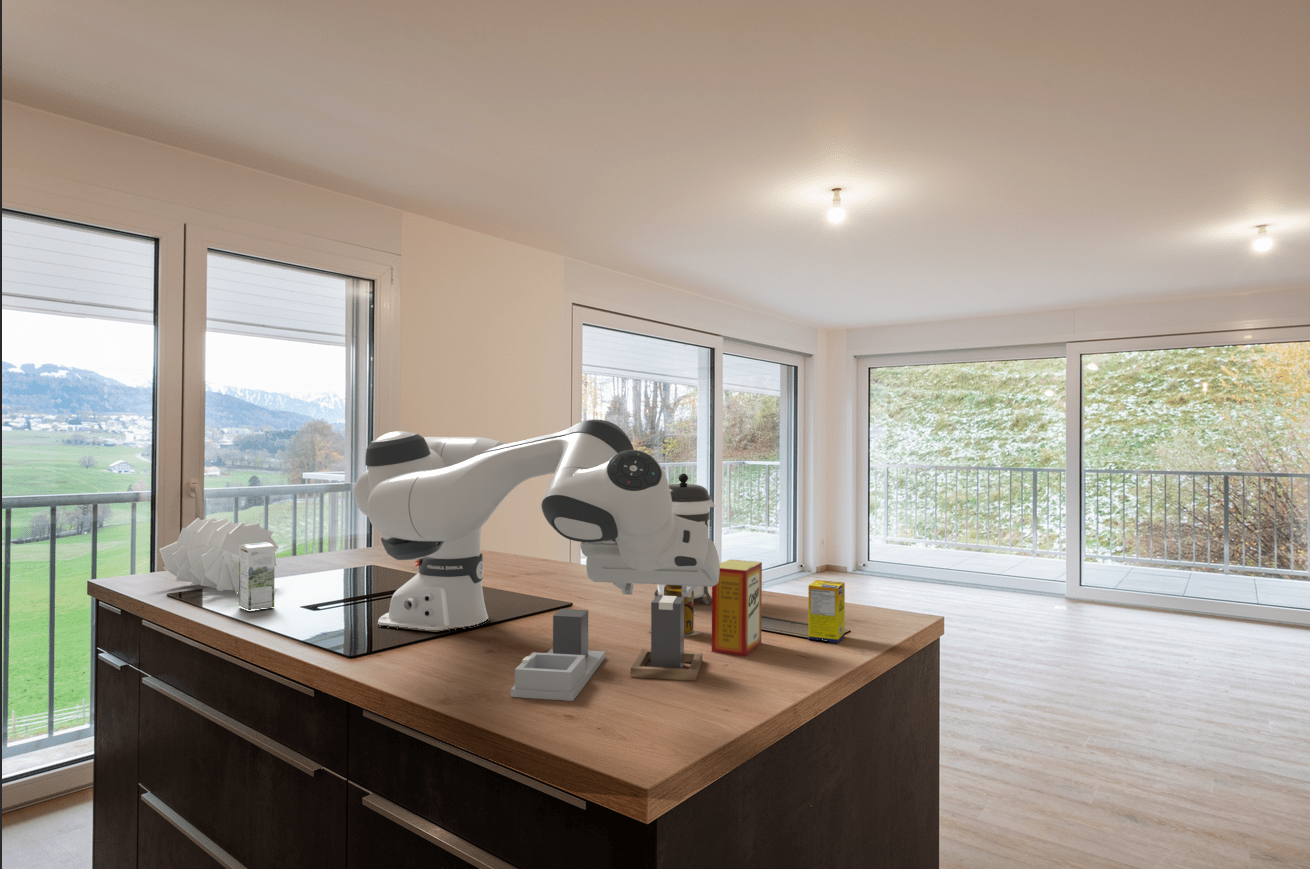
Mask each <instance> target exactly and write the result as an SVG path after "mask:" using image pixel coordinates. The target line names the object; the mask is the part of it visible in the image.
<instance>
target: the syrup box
mask: <svg viewBox="0 0 1310 869" xmlns="http://www.w3.org/2000/svg"><path fill="white" fill-rule="evenodd" d="M275 552H276V551H275V547H274V546H273V545H272V544H270V543H267V542H263V543H254V544H245V545H239V593H238V607H239V606H241V607H243V608H245V609H248V610H251V609H261V608H270V607H274V608H275V567H274V560H275V559H276V553H275ZM274 557H275V558H274Z"/></svg>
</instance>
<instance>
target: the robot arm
mask: <svg viewBox="0 0 1310 869" xmlns="http://www.w3.org/2000/svg"><path fill="white" fill-rule="evenodd" d="M365 450H366V451H365V458H364V460H365V466H367V469H366V470H365V471H363V472H362V473H361V474H360V475H359V476H358V478H357V479H356V480H355V484H354V485H353V486H354V487H353V498H354V499H353V500H354V503H355V504H356V507H357V508H358V510H360V512H361V514H364V515H365V516H367V518H368V520H369V521H370V522H369V523H370V524H371V525H372V527H373V528H374V529H375V530H376V531H377V532H378V533H379V534H380V535H381V537H380V541H381V544H382V546H383V548H384V550H385V552H386V553H387V555H389V556H390V557H392V558H393V559H395V560H398V561H414V563H415V564H414V567H418V573H416V574H415V575H414V576H412V578H410V579H409V580H408V581H406V582H405V583H404V584H403V585H401V586H400V587H399V588H398V589H396V590H395V592H394V593H393V594H392V595H391V599H390V604H389V610H388V612H386V613H384V614H383V615H381V616H380V617H379V618H378V620H377V625H378V624H379V625H389V626H399V627H408V628H418V629H425V630H443V629H448V628H454V627H464V626H471V625H475V624H479V623H481V622H484V621H486V620H487V619H488V618H489V615H488V612H487V608H486V604H485V597H484V592H483V591H484V590H483V582H482V581H483V576H484V558H483V553H482V552H481V547H482V546H481V544H482V543H481V542H482V540H481V539H482V527H483V526H484V525H485V524H486V522H487V521H488V520H489V518H490V517H491V516H492V515H493V513H494V512H495V511H496V509H497V508H498V507H499V505H500V504H501V503H502V502H503V501H504V500H505V498H506V497H507V496H509V494H510V493H511V492H512V491H513V490H514V489H515V488H516V487H517V486H519V485H520V484H522V483H523V482H524V481H527V480H529V479H532V478H537V477H542V476H546V475H552V474H553V475H552V477H551V479H550V482H549V483H548V486H547V489H546V491H545V494H544V497H543V498H542V499H543V500H542V502H541V505H540V506H541V510H542V514H543V516H544V518H545V520H546V521H547V522H548V524H549V525H550V526H551V527H552V528H553V529H554V530H555V531H556V532H557V533H558V534H559V535H561V536H562V537H563V538H565V539H568V540H571V541H574V542H579V543H580V546H579V547H580V550H581V553H582V554H583V555H584V556H585V557H586V562H585V563H586V564H585V566H586V574H587V578H588V579H590V580H591V581H593V582H595V583H596V582H597V583H612V585H614V586H615V587H617V588H618V589H620V590H621V593H622V595H626V596H627V595H629V596H631V595H633V590H634V584H636V585H637V584H640V585H641V584H642V585H645V584H646V585H658V584H661V585H682V589H681V594H682V597H691V596H692V591H693V590H694V589H695V588H696V587H697V586H708V588H710V587H711V588H712V586H715V585H716V584H717V583H718V582H719V573H720V563H721V562H720V558H719V554H718V551H717V547H716V544H715V543H714V542H713V540H712V539H710V538H708V527H707V525H706V524H704V523H700V522H696V521H692V520H688V519H684V518H681V517H678V516H676V515H673V514H672V508H673V505H672V498H671V493H670V489H669V485H670V484H669V482H668V478H667V475H666V474H665V470H664V469H663V467H662V466H661V464H660V463H659V462H658V461H657V460H656V458H654V457H653V456H652V455H651V454H649V453H647V452H645V451H642V450H637V449H634V446H633V443H632V441H631V440H630V438H629V436H628V435H627V434H626V433H625V431H624V430H623V429H622V428H621V427H620V426H618V425H616V424H615V423H613V422H611V421H608V420H605V419H604V420H603V419H587V420H583V421H580V422H577V423H576V424H574V425H571V426H570V427H567V428H566V429H564V430H560V431H557V432H554V433H549V434H545V435H540V436H535V437H532V438H527V439H523V440H519V441H514V442H510V443H505V442H503V441H501V440H497V439H496V440H495V439H493V438H488V437H481V436H478V437H477V436H422V435H420V434H419V433H417V432H410V431H404V430H403V431H402V430H395V431H391V432H387V433H383V434H382V435H380V436H379V437H377V438H375V439H374V440H372V441H370V443H369V444H368V446H367V448H366V449H365ZM488 620H489V619H488Z"/></svg>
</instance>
